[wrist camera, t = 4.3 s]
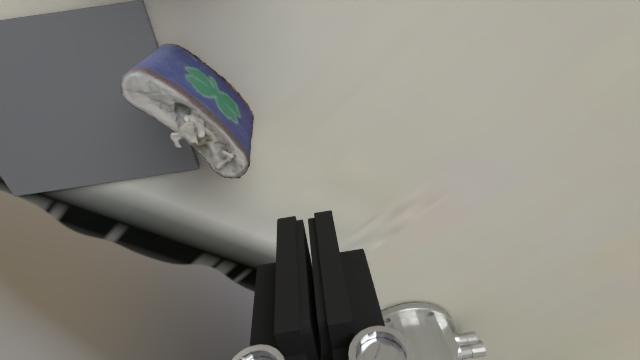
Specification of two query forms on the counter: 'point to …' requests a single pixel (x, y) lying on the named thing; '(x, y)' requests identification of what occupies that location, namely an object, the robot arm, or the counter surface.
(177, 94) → the blue clover wallet
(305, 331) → the robot arm
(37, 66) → the slate board
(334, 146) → the counter surface
